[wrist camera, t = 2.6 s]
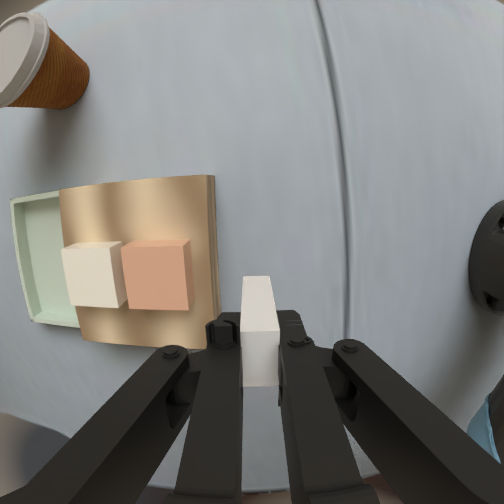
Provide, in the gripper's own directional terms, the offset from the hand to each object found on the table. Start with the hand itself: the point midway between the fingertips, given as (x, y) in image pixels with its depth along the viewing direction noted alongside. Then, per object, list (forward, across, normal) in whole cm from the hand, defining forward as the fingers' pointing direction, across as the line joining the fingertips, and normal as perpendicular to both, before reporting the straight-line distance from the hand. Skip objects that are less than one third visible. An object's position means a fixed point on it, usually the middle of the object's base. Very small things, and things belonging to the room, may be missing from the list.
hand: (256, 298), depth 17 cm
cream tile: (+7, +14, 0) cm, 15 cm away
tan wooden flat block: (+12, +10, 0) cm, 16 cm away
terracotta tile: (+7, +8, 0) cm, 10 cm away
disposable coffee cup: (+12, +20, -20) cm, 31 cm away
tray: (+12, +23, 0) cm, 26 cm away
